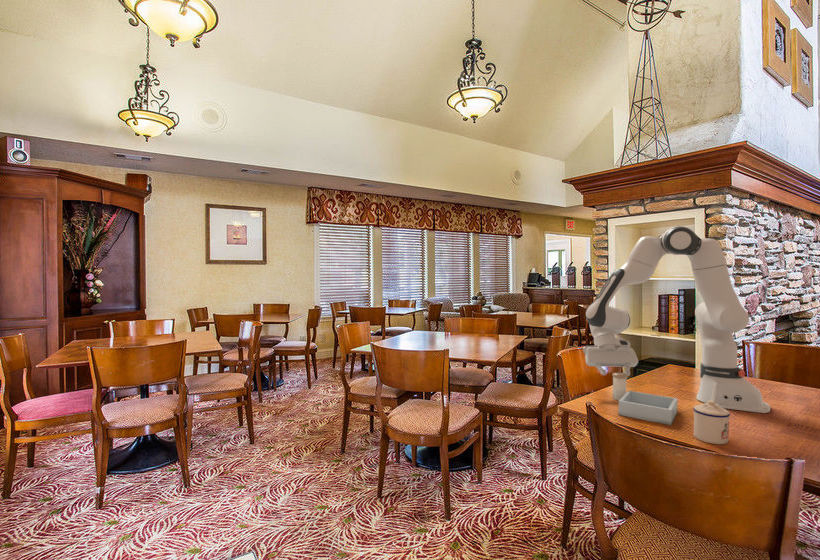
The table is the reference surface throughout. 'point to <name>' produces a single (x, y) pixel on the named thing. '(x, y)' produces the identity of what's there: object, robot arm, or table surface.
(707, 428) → the teacup with lid
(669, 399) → the serving bin
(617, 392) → the dressing jar
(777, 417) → the table surface
